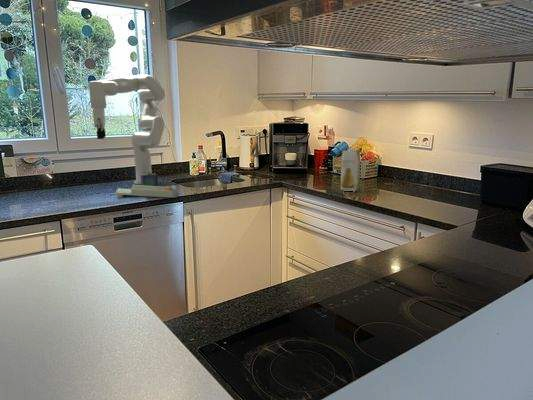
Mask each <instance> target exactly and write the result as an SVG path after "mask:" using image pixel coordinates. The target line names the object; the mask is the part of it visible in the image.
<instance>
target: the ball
mask: <svg viewBox="0 0 533 400" xmlns="http://www.w3.org/2000/svg"><path fill="white" fill-rule="evenodd" d="M164 187H165V188H164V190H168V191H172V188H171V185H170V186H169V185H166V186H164Z"/></svg>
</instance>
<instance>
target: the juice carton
mask: <svg viewBox="0 0 533 400" xmlns="http://www.w3.org/2000/svg"><path fill="white" fill-rule="evenodd" d="M340 166H341V167H340V168H341V169H340V189H341V190H343V191H342V192H344V191H353V192H352V193H355V191H356V192H358V190H359V187H360V169H361V168H360V167H361V154H360V150H359V149H357V150H354V149H353V148H351V147H349V148H348V149H345V150H344V149H343V151H342V154H341V165H340Z"/></svg>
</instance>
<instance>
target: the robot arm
mask: <svg viewBox="0 0 533 400" xmlns="http://www.w3.org/2000/svg"><path fill="white" fill-rule="evenodd" d="M88 87H89V88H88V90H89V100H90V109H92V110H93V111H92V114H93V127H94V128H96V138H97V139H98V140H104V139H105V138H106V136H107V135H106V129H105V126H106V116H105V113H106V112H105V109H107V101H106V98H107V96H108V97H109V96H110V97H111V96H113V97H114V96H116V95H117V94H127V93H132V92H136V91H138V98H139V100H140V101H141V104H142V110H141V112H140V113H141V114H140V117H139V121H138V128H139V130H141V131H135V132H134V133H133V134H132V135H131V139H130V140H131V143H132V147H133V154H134V165H135V179H136V180H134V181H133V184H134V185H141V175H145V174H147V172H148V171H150V173H153V172H152V158H151V157H152V156H151V152H150V150H149V148H150V149H151V148H152V149H155V148H158V147H159V145H160V143H161V140H162V136H163V132H164V130H165V121H164V119H163V117H161V116H159V115H157V107H156V105H155V103H154V102H161V101H163V100H164V99H165V96H166V93H165V92H166V91H165V89H164V87H163V86H162V85H161V84H160V83H159V82H158V81H157V80H156V79H155V78H154V77H153V76H151V75H149V74H136V75H135V74H134V75H130V76H123V77H118V78H112V79H104V80H91V81H89V83H88Z"/></svg>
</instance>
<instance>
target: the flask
mask: <svg viewBox="0 0 533 400" xmlns="http://www.w3.org/2000/svg"><path fill="white" fill-rule="evenodd" d="M140 185H144V186H159V184H158V174H157V173H154V172H152V173H150V171H148V172H147V174H145V175H141V184H140Z"/></svg>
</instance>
